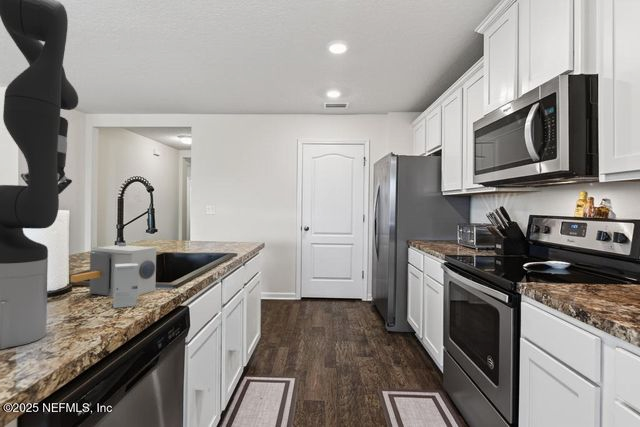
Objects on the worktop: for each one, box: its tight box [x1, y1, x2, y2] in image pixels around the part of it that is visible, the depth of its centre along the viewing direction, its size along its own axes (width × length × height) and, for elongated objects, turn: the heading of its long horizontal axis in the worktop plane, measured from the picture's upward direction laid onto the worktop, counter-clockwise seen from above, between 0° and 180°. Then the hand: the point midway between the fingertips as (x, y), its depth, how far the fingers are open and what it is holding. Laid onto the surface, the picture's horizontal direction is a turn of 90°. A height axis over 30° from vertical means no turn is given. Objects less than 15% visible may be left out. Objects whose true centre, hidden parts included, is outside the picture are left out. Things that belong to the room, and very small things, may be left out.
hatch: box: [69, 252, 110, 296], centre depth 101 cm, size 9×7×13 cm
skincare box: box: [112, 263, 139, 309], centre depth 95 cm, size 6×4×12 cm
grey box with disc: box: [91, 242, 157, 297], centre depth 109 cm, size 11×17×16 cm, turn 73°
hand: (45, 207), depth 97 cm, fingers closed
